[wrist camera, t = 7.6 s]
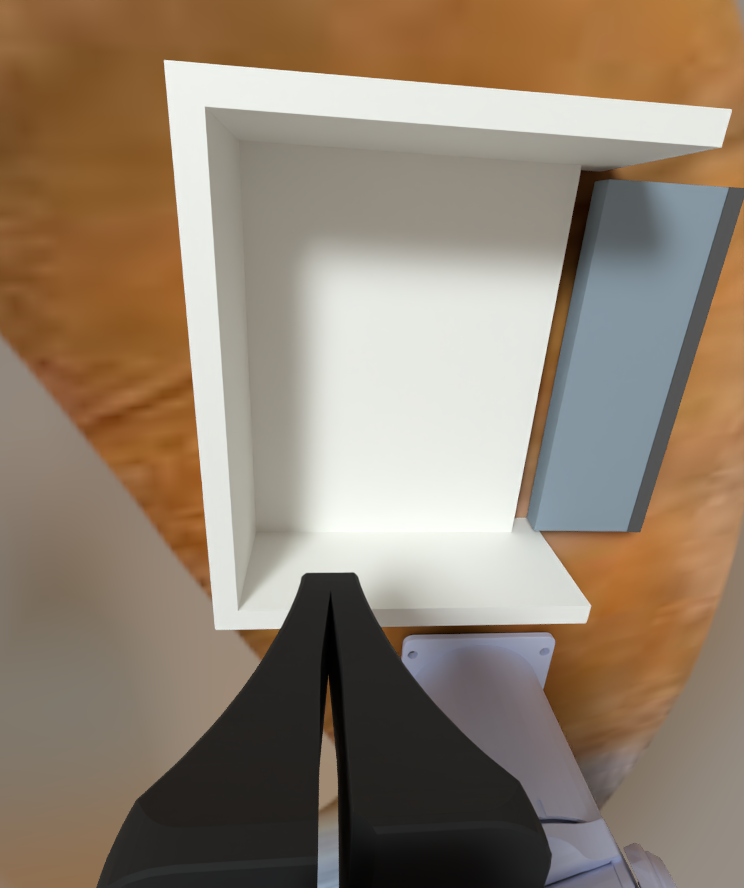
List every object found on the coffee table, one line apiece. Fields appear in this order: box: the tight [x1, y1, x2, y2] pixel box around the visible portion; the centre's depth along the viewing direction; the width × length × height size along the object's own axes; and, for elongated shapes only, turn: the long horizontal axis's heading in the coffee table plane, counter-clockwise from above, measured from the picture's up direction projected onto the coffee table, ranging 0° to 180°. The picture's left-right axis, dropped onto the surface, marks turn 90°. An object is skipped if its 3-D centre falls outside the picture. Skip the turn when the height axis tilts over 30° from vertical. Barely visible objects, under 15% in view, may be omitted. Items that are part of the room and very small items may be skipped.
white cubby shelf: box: [164, 60, 732, 630], centre depth 17 cm, size 16×13×6 cm
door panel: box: [527, 179, 744, 532], centre depth 20 cm, size 14×1×5 cm
